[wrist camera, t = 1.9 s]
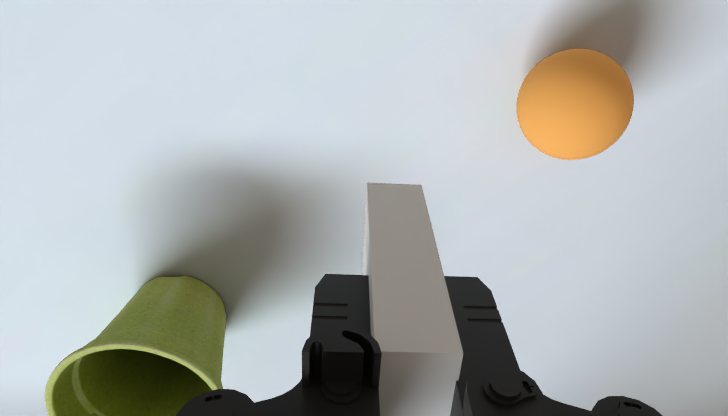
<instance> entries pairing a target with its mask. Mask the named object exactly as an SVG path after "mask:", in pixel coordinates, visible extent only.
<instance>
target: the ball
mask: <svg viewBox="0 0 728 416" xmlns="http://www.w3.org/2000/svg"><path fill="white" fill-rule="evenodd" d="M633 104H634V96H633V90H632V86H631V83H630V80H629V78H628V76H627V74H626V73H625V71H624V70H623V69H622V67H621V66H620V65H619V64H618V63H617V62H616V61H614V60H613V59H612V58H610V57H608V56H607V55H605V54H603V53H600V52H598V51H594V50H590V49H568V50H564V51H560V52H557V53H555V54H553V55H550V56H548V57H547V58H545V59H543V60H542V61H541V62H539V63H538V64H537V65H536V66H535V67H534V68H533V69H532V70H531V71H530V72H529V73H528V75H527V76H526V78H525V79H524V81H523V83H522V85H521V88H520V90H519V94H518V98H517V117H518V122H519V125H520V128H521V130H522V132H523V134H524V135H525V137H526V138H527V140H528V141H529V142H530V143H531V144H532V145H533V146H534V147H536V148H537V149H538V150H539V151H541V152H543V153H545V154H547V155H549V156H552V157H555V158H559V159H566V160H577V159H584V158H588V157H591V156H594V155H597V154H599V153H601V152H603V151H604V150H606V149H607V148H609V147H610V146H611V145H612V144H614V143H615V142H616V141H617V140H618V139H619V138H620V136H621V135H622V134H623V132H624V131H625V129H626V128H627V126H628V124H629V121H630V119H631V116H632V111H633Z"/></svg>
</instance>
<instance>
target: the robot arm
mask: <svg viewBox="0 0 728 416" xmlns="http://www.w3.org/2000/svg"><path fill="white" fill-rule="evenodd" d="M176 416H662V415H661V414H660V413H659V412H658V411H656V410H655V409H654V408H652V407H650V406H648V405H646V404H645V403H643V402H641V401H639V400H635V399H631V398H628V397H624V396H608V397H606V398H604V399H601V400H599V401H598V402H597V403H596V405H595V406H594V408H593V409H592V411H589V410H585V409H582V408H578V407H574V406H571V405H567V404H564V403H561V402H558V401H555V400H552V399H550V398H548V397H547V396H545V395H543V394H542V392H541V390H540V389H539V387H538V385H537V384H536V382H535V381H534V380H533V379H531V378H530V377H529V376H528V375H526V374H525V373H524V372H522V371H520V369H519V366H518V363H517V361H516V358H515V355H514V352H513V350H512V347H511V344H510V341H509V339H508V336H507V333H506V330H505V328H504V325H503V323H502V322H501V317H500V314H499V311H498V310H497V306H496V303H495V300H494V298H493V295H492V292H491V290H490V289H489V288H488V287H487V286H486V285H485V284H484V283H483V282H482V281H481V280H480V279H479V278H478V277H454V276H444V274H443V270H442V266H441V262H440V258H439V254H438V250H437V246H436V242H435V238H434V234H433V230H432V226H431V222H430V218H429V214H428V210H427V206H426V202H425V198H424V194H423V190H422V186H421V185H410V184H383V183H367V191H366V208H365V226H364V244H363V261H362V275H340V274H325V275H324V277H323V278H322V279H321V281H320V282H319V283H318V284H317V286H316V287H315V294H314V305H313V313H312V323H311V332H310V338H308V339H307V340H306V342H305V345H304V347H303V350H302V379H301V381H300V382H299V383H298V384H297V385H296V386H295V387H294V388H293V389H291V390H290V391H288V392H286V393H285V394H283V395H280V396H277V397H275V398H272V399H268V400H264V401H260V402H256V403H254V402H253V401H252V400H251V399H250V398H249V397H248V396H247V395H246V394H243V393H241V392H238V391H236V390H230V389H216V390H212V391H208V392H204V393H202V394H200V395H198V396H196V397H194V398H193V399H191V400H189V401H188V402H187V403H186V404H185V405H184V406H183V407H182V408H181V409H180V411H179V412H178V413H177V415H176Z"/></svg>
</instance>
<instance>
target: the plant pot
mask: <svg viewBox="0 0 728 416" xmlns="http://www.w3.org/2000/svg"><path fill="white" fill-rule="evenodd" d="M225 328H226V312H225V308H224V304H223V301H222V300H221V298H220V296H219V295H218V294H217V293H216V292H215V291H214V290H213V289H212V288H211V287H210V286H208V285H207V284H205V283H203V282H201V281H199V280H197V279H195V278H192V277H188V276H179V277H158V278H155V279H152V280H151V281H149V282H147V283H146V284H144V285H143V286H142V287H141V288H140V289H139V291H138V292H137V293H136V294H135V295H134V296H133V297H132V299H131V300H130V301H129V302H128V303H127V304H126V306H125V307H124V308H123V309H122V310H121V311H120V313H119V314H118V315H117V316H116V317H115V318H114V319H113V320H112V321H111V323H110V324H109V325H108V326H107V327H106V328H105V329H104V330H103V331H102V332H101V334H100V335H99V336H98V337H97V338H96V339H95V340H93V341H91V342H90V343H88V344H87V345H85V346H84V347H83V348H80V349H78V350H76V351H74V352H73V353H71V354H70V355H68V356H67V357H66V358H65V359H63V360H62V361H61V362H60V363H59V364H58V366H57V367H56V368H55V370H54V371H53V372H52V374H51V375H50V377H49V380H48V382H47V385H46V390H45V402H46V408H47V412H48V414H49V416H176V415H177V413H178V412H179V411H180V409H181V408H182V407H183V406H184V405H185V404H186V403H187V402H188V401H189V400H191V399H193V398H194V397H196V396H198V395H200V394H202V393H204V392H208V391H212V390H216V389H223V387H222V383H221V372H222V359H223V347H224V338H225Z"/></svg>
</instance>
